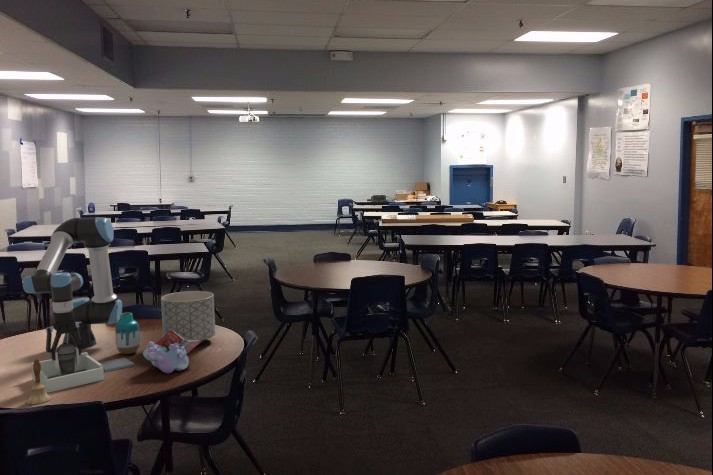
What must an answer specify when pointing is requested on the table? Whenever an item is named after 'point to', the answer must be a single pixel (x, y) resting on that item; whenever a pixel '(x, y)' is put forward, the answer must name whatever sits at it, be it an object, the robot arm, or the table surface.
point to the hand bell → (38, 387)
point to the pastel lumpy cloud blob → (170, 352)
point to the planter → (189, 314)
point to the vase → (127, 334)
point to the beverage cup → (66, 358)
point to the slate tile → (116, 364)
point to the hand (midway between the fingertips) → (67, 365)
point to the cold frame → (71, 380)
